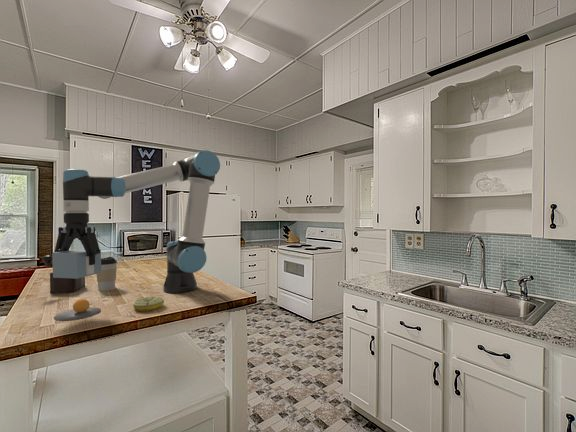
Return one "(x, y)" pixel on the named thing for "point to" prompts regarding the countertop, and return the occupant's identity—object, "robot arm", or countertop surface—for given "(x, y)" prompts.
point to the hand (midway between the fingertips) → (77, 273)
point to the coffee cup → (107, 274)
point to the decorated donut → (148, 304)
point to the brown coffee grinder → (63, 281)
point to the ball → (81, 305)
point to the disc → (76, 314)
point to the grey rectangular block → (73, 264)
